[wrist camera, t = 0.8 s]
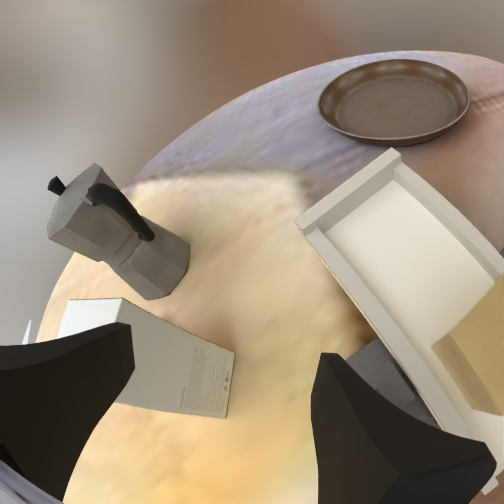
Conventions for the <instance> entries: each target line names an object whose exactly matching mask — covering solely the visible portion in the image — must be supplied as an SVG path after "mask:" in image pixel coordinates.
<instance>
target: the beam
mask: <svg viewBox="0 0 504 504" xmlns="http://www.w3.org/2000/svg"><path fill="white" fill-rule="evenodd" d="M294 222H295V223H296V225H297V227H298V229H299V230H300V232H301V234H302V235H303V237H304V239H305V241H306V242H307V243H308V245H309V246H310V247H311V248H312V250H313V251H314V252H315V253H316V255H317V256H318V257H319V258H320V260H321V261H322V262H323V264H324V265H325V266H326V267H327V269H328V270H329V271H330V272H331V274H332V275H333V276H334V278H335V279H336V280H337V281H338V283H339V284H340V285H341V287H342V288H343V289H344V291H345V292H346V293H347V295H348V296H349V297H350V298H351V300H352V301H353V302H354V304H355V305H356V306H357V308H358V309H359V310H360V312H361V313H362V314H363V316H364V317H365V318H366V320H367V321H368V323H369V324H370V325H371V327H372V328H373V329H374V331H375V332H376V333H377V335H378V336H379V338H380V339H381V340H382V342H383V343H384V345H385V346H386V347H387V349H388V350H389V352H390V353H391V354H392V356H393V357H394V359H395V360H396V361H397V363H398V364H399V366H400V367H401V369H402V370H403V371H404V373H405V374H406V376H407V377H408V379H409V380H410V382H411V383H412V385H413V386H414V388H415V389H416V390H417V392H418V393H419V395H420V396H421V398H422V399H423V401H424V402H425V404H426V406H427V407H428V409H429V410H430V412H431V413H432V415H433V416H434V418H435V419H436V421H437V422H438V424H439V426H440V427H441V429H442V430H443V431H446V432H448V433H451V434H454V435H457V436H461V437H465V438H469V439H473V440H477V441H482V442H485V443H486V445H487V447H488V448H489V450H490V451H491V453H492V455H493V456H494V458H495V460H496V462H497V467H496V470H495V472H494V474H493V476H492V477H491V479H490V480H489V481H488V483H487V484H486V485H485V486H484V487H483V488H482V489H481V490H480V491H481V492H482V493H483V494H484V495H486V494H488V493H489V492H490V491H491V490H492V489H494V488H495V487H496V486H497V485H498V484H499V483H498V481H497V480H496V478H495V477H496V476H497V475H498V474H499V473H500V472H501V471H503V470H504V416H498V415H494V414H489V413H485V412H481V411H477V410H473V409H472V408H471V407H470V405H469V403H468V402H467V400H466V399H465V397H464V396H463V394H462V392H461V391H460V389H459V388H458V386H457V385H456V383H455V382H454V380H453V379H452V377H451V376H450V374H449V373H448V371H447V370H446V369H445V367H444V366H443V364H442V363H441V361H440V360H439V359H438V357H437V356H436V354H435V353H434V352H433V350H432V349H431V346H432V345H433V344H434V343H436V342H437V341H438V340H439V339H440V338H441V337H442V336H443V335H444V334H445V333H447V332H448V331H449V330H450V329H451V328H452V327H453V326H454V325H455V324H456V323H457V322H458V321H459V320H460V319H461V318H462V317H463V316H464V315H465V314H466V313H467V312H468V311H469V310H470V309H471V308H472V307H473V306H474V305H475V304H476V302H477V301H478V300H479V299H480V298H481V297H482V296H483V295H484V294H485V293H486V292H487V290H488V289H489V288H490V287H491V286H492V285H493V284H494V283H495V282H496V281H497V279H498V278H499V277H500V276H501V275H502V274H503V273H504V258H503V257H502V256H501V255H500V254H499V252H498V251H497V250H496V249H495V248H494V247H493V246H492V245H491V243H490V242H489V241H488V240H487V239H486V238H485V237H484V236H483V235H482V234H481V233H480V232H479V231H478V230H477V229H476V228H475V227H474V226H473V225H472V224H471V223H470V222H469V221H468V220H467V219H466V218H465V217H464V216H463V215H462V214H461V213H460V212H459V211H458V210H457V209H456V208H455V207H454V206H453V205H452V204H451V203H450V202H449V201H448V200H446V199H445V198H444V197H443V196H442V195H441V194H440V193H439V192H437V191H436V190H435V189H434V188H433V187H432V186H431V185H429V184H428V183H427V182H426V181H425V180H423V179H422V178H421V177H420V176H419V175H417V174H416V173H415V172H414V171H412V170H411V169H410V168H409V167H407V166H406V165H405V164H404V163H402V160H401V154H400V153H399V152H397V151H396V150H395V149H393V148H392V147H391V148H390V149H388V150H387V151H386V152H384V153H383V154H382V155H380V156H379V157H378V158H376V159H375V160H374V161H372V162H371V163H370V164H368V165H367V166H366V167H364V168H363V169H362V170H360V171H359V172H358V173H356V174H355V175H354V176H352V177H351V178H350V179H348V180H347V181H346V182H344V183H343V184H342V185H340V186H339V187H338V188H336V189H335V190H334V191H332V192H331V193H330V194H328V195H327V196H326V197H324V198H323V199H322V200H320V201H319V202H317V203H316V204H315V205H313V206H312V207H311V208H309V209H308V210H307V211H305V212H304V213H303V214H301V215H300V216H299V217H297V218H296V219H295V220H294Z"/></svg>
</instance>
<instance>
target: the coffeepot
mask: <svg viewBox="0 0 504 504" xmlns="http://www.w3.org/2000/svg"><path fill="white" fill-rule="evenodd" d="M48 190H50V191H52V192H54V193H55V194H57V195H59V198H58V201H57V203H56V205H55V207H54V208H53V212H52V215H51V217H50V220H49V223H48V225H47V232H48V239H50V240H52V241H54V242H56V243H58V244H60V245H62V246H65V247H67V248H69V249H71V250H73V251H75V252H77V253H79V254H82V255H84V256H86V257H88V258H90V259H93V260H95V261H97V262H99V261H104V262H106V263H107V264H109V265H110V267H111V268H112V269H113V270H114V272H116V273H117V274H118V275H119V276H120V277H121V278H122V279H123V280H124V281H125V282H126V283H127V284H129V285H130V286H131V287H132V288H133V289H134V290H135V291H136V292H138V293H139V294H140V295H141V296H142V297H143V298H144V299H146V300H152V299H159V298H161V297H164V296H165V295H168V294H169V293H170V292H171V291H172V290H173V289H174V288H175V287H176V286H177V285H178V284H179V282H180V281H181V279H182V278H183V276H184V274H185V272H186V270H187V267H188V263H189V245H188V244H186V243H185V242H184V241H183V240H181V239H180V238H179V237H178V236H176V235H175V234H173V233H171V232H169V231H168V230H166V229H164V228H162V227H161V226H159V225H157V224H155V223H154V222H152V221H150V220H148V219H147V218H145V217H143V216H140V215H139V214H138V213H137V210H136V209H135V208H134V207H133V205H132V204H131V203H130V202H129V201H128V199H127V198H126V197H125V195H124V194H123V193H122V192H121V191H120V190H119V189H118V188H117V186H116V185H115V184H114V183H113V181H112V180H111V179H110V178H109V177H108V176H107V174H106V173H105V172H104V170H103V169H102V168H101V167H100V166H99V165H97V164H96V163H94V164H93V165H91V166H90V167H89V168H88V169H86V170H85V171H84V172H83V173H82V174H80V175H79V176H78V177H77V178H76V179H74V181H72V182H71V183H70V184H69V185H68V186H67V187H65V186H64V184H63V183H62V182H61V181H60V179H59V178H58V177H57V176H56V177H54V178H53V179H52V180H51V181H50V182H49V185H48Z"/></svg>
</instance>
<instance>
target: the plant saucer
mask: <svg viewBox="0 0 504 504" xmlns="http://www.w3.org/2000/svg"><path fill="white" fill-rule="evenodd" d="M469 102H470V95H469V91H468V89H467V87H466V85H465V84H464V82H463V81H462V80H461V79H460V78H459V77H458V76H457V75H455V74H454V73H453V72H451V71H449V70H447V69H446V68H443V67H441V66H439V65H436V64H433V63H429V62H425V61H420V60H411V59H391V60H383V61H377V62H372V63H368V64H364V65H361V66H358V67H356V68H353V69H351V70H349V71H347V72H345V73H343V74H341V75H340V76H338V77H336V78H335V79H334V80H333V81H331V82H330V83H329V84H328V85H327V86H326V87H325V88H324V90H323V91H322V92H321V94H320V96H319V98H318V103H317V109H318V113H319V115H320V117H321V119H322V120H323V121H324V122H325V123H326V124H327V125H329V126H330V127H331V128H333V129H334V130H336V131H337V132H339V133H341V134H343V135H345V136H347V137H349V138H352V139H355V140H358V141H361V142H365V143H369V144H374V145H382V146H405V145H412V144H418V143H422V142H425V141H428V140H431V139H434V138H436V137H438V136H440V135H442V134H444V133H445V132H447V131H448V130H450V129H451V128H452V127H453V126H455V125H456V124H457V123H458V122H459V121H460V119H461V118H462V117H463V115H464V114H465V112H466V111H467V109H468V106H469Z"/></svg>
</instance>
